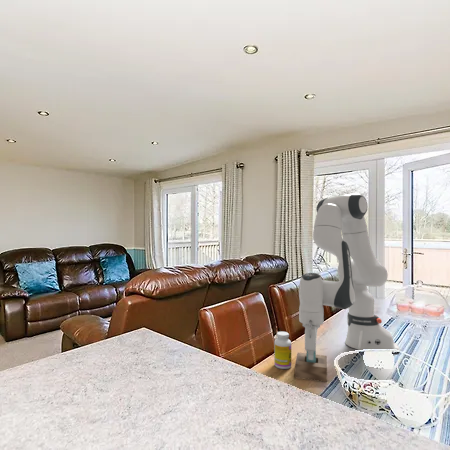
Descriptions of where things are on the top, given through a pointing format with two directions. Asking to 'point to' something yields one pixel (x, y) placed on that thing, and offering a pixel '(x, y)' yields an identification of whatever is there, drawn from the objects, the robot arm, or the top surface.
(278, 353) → the supplement bottle
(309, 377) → the socket block
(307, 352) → the teal peg
